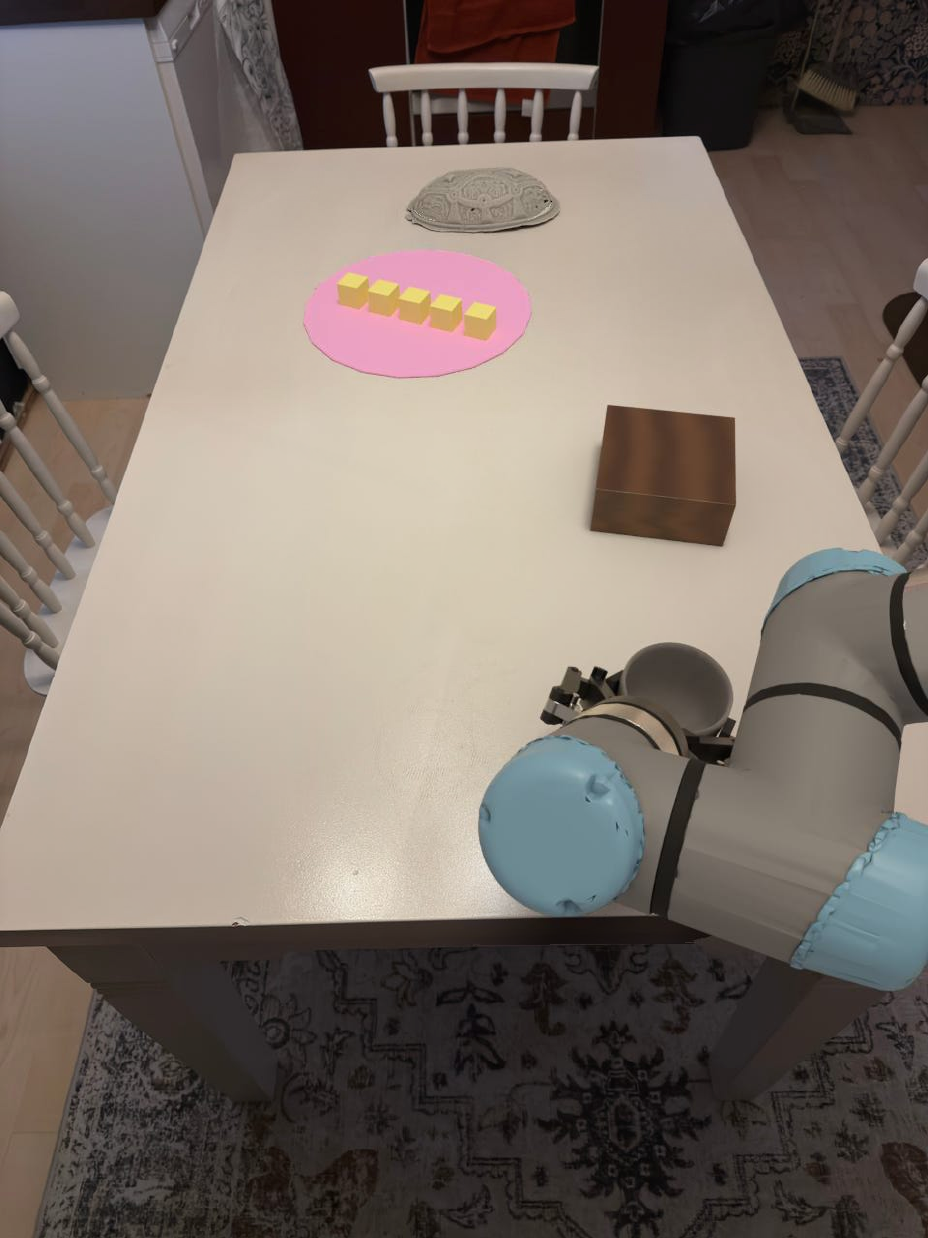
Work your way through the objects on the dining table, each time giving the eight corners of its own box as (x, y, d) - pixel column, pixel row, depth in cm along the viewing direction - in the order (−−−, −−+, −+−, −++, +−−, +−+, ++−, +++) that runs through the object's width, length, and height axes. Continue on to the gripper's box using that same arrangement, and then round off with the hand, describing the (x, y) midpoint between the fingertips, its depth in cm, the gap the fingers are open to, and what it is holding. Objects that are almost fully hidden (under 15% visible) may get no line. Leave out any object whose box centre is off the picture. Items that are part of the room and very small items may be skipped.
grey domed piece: (566, 225, 129) (566, 178, 124) (406, 240, 130) (400, 194, 125) (555, 189, 140) (555, 145, 135) (407, 203, 141) (402, 160, 136)
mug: (608, 695, 76) (626, 632, 69) (705, 712, 75) (734, 650, 68) (594, 814, 69) (613, 759, 62) (701, 835, 68) (734, 782, 61)
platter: (474, 402, 104) (473, 379, 101) (258, 344, 113) (253, 321, 110) (564, 276, 121) (566, 253, 119) (372, 234, 130) (370, 212, 128)
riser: (723, 459, 96) (735, 417, 92) (722, 546, 88) (736, 505, 83) (601, 446, 98) (607, 404, 94) (590, 530, 90) (595, 489, 85)
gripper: (444, 740, 54) (543, 694, 75) (767, 909, 47) (777, 806, 68) (485, 635, 53) (574, 618, 74) (824, 793, 46) (816, 725, 67)
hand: (671, 709), depth 71 cm, fingers closed on mug, 9 cm apart
